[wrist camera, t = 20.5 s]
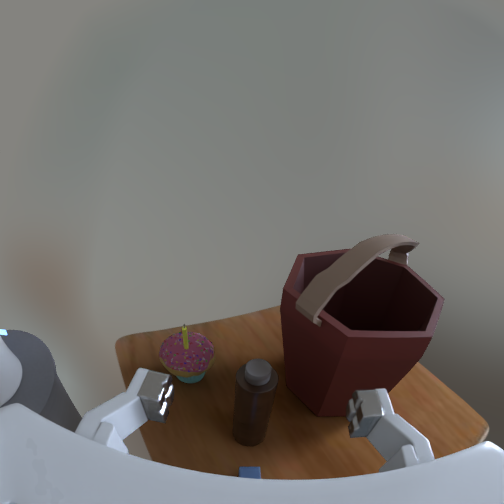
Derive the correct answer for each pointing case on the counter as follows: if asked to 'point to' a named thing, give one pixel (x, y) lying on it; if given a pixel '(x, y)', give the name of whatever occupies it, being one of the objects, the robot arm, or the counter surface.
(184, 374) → the cupcake
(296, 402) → the counter surface
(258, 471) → the blue stick
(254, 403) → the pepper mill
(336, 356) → the bucket
